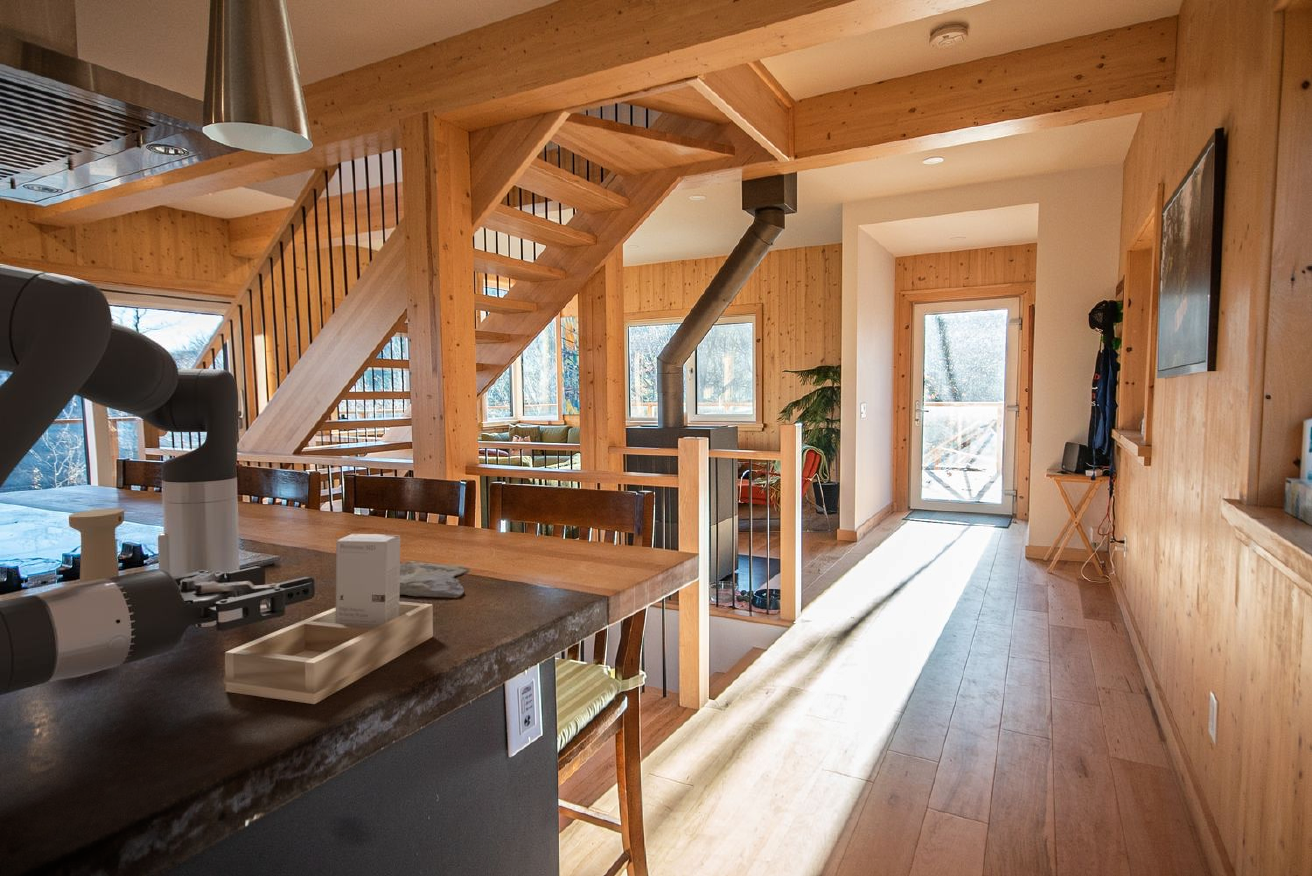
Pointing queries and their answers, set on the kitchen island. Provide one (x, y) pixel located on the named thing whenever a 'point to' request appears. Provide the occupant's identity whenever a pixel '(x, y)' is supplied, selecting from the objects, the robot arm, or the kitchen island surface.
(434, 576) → the fossil rock
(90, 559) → the handle
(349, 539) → the skincare box
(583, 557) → the kitchen island surface
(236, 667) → the tray
